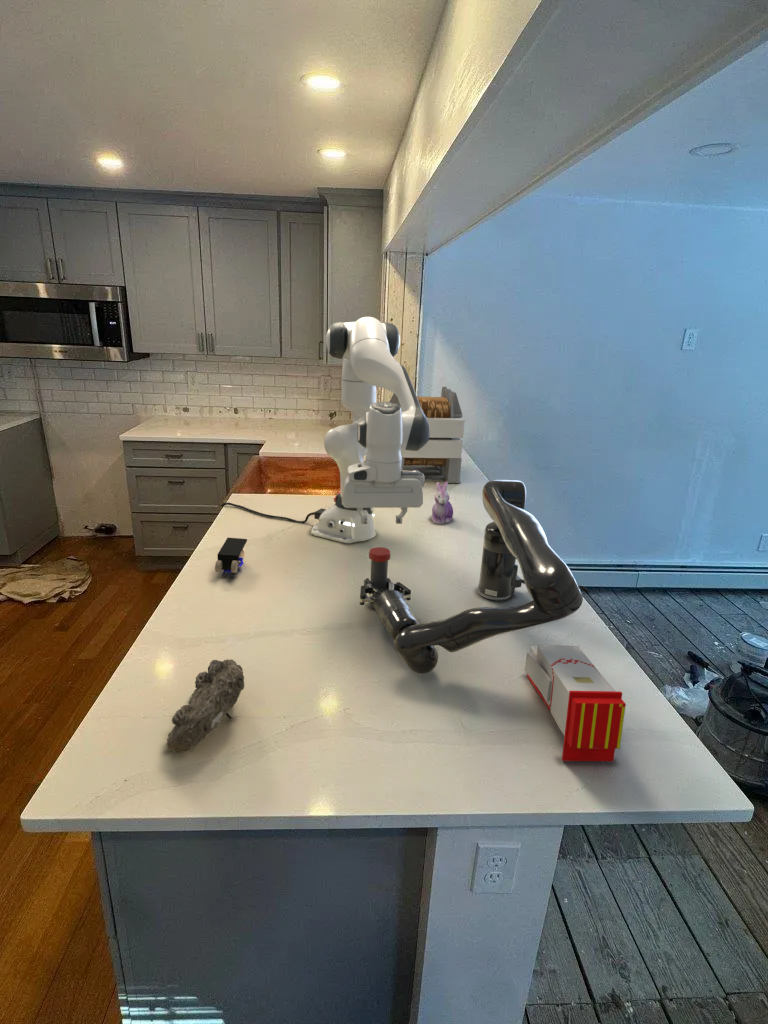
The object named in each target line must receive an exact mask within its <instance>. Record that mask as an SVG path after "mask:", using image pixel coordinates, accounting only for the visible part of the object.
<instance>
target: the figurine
mask: <svg viewBox="0 0 768 1024" xmlns="http://www.w3.org/2000/svg"><path fill="white" fill-rule="evenodd" d="M448 486H449V483H448V482H447V481H446V480H445V481H444V483H443V484H442V485H441V484H440V482H439V481H437V482H435V487H436V492H435V493H434V494H435V495H434V501H435V503H434V504H433V506H432V509H431V513H432V514H431V517H430V519H431V520H432V522H433V523H434V524H439V525H443V524H448V523H450V522H452V520H453V516H454V507H453V505H452V504H451V502H450V501H449V500H450V494H449V492H448Z"/></svg>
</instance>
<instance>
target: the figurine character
mask: <svg viewBox="0 0 768 1024" xmlns="http://www.w3.org/2000/svg"><path fill="white" fill-rule="evenodd" d="M247 542H248V538H240V537H226V539H225V541H224V543H223V544H222V546H221V547H220V549H219V551H218V552H217V560H216V562H215V564H214V572H215V573H221V577H222V578H224V577H225V576H226V574H227V573H230V574H231V573H232V574H231V578H234V577H235V575H236V573H237V572H239V571H240V567H242V566H243V565H244V564H245V562H244V558H245V551H244V547H245V546H246V544H247Z"/></svg>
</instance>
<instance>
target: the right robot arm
mask: <svg viewBox="0 0 768 1024" xmlns="http://www.w3.org/2000/svg"><path fill="white" fill-rule="evenodd" d="M481 497H482V499H481V500H482V504H483V507H484V509H485V512H486V513H487V515H488V516H489V518H490V519H491V520H492V521H491V522H489V523H488V524H486V526H485V528H484V535H483V544H482V553H481V561H480V572H479V578H478V579H479V580H478V587H477V592H478V595H480V596H481V597H483V598H484V599H487V600H491V601H497V602H499V601H500V602H501V601H506V600H509V599H511V598H512V597H515V591H516V589H517V588H519V589H520V588H522V584H523V585H525V587H526V590H527V592H528V594H529V596H530V598H531V599H532V600H531V601H529V602H526V603H524V604H521V605H516V606H509V607H507V606H506V607H494V606H493V607H492V606H481V607H480V606H478V607H474V608H473V607H472V608H469V609H465V610H463V611H460V612H459V613H456V614H454V615H451V616H449V617H447V618H445V619H441V620H433V621H429V622H422V623H419V621H418V619H417V618H416V616H415V614H414V613H413V610H412V608H411V606H410V605H409V603H408V602H407V601H410V600H412V590H411V589H410V588H408V587H407V586H406V585H404V584H403V583H401V582H400V581H397V582H395V583H394V581H392V580H391V578H390V577H387V589H379V588H378V587H377V586H373V585H372V584H371V582H370V578H369V577H366V578H365V579H364V580H363V585H361V586H360V592H359V605H360V606H365V605H366V604H367V603H371V604H372V605H373V606H374V607H375V609H374V610H375V612H376V613H377V616H378V617H379V619H380V621H381V623H382V624H383V626H384V627H385V629H386V630H387V632H388V633H389V636H390V637H391V639H392V640H393V641H394V648H395V650H396V652H397V653H398V655H399V656H400V657H401V658H402V660H403V661H404V662H405V663H406V665H407V666H408V668H409V669H410V670H412V671H413V672H414V673H416V674H419V675H421V674H423V675H424V674H429V673H431V672H432V671H433V670H434V669H435V668H436V667H437V665H438V662H439V653H438V649H437V647H436V646H439V647H441V648H443V649H444V650H446V651H447V652H449V653H456V652H459V651H461V650H464V649H466V648H469V647H471V646H473V645H475V644H478V643H481V642H483V641H486V640H488V639H490V638H493V637H496V636H500V635H503V634H507V633H511V632H516V631H519V630H525V629H529V628H532V627H536V626H540V625H544V624H549V623H553V622H555V621H559V620H562V619H565V618H567V617H569V616H571V615H573V614H575V613H576V612H577V611H578V610H579V609H581V606H582V605H583V601H584V596H583V593H582V591H583V592H585V593H590V590H589V589H588V588H587V587H586V586H583V585H579V584H578V582H577V580H576V579H575V577H574V574H573V572H572V570H571V569H570V567H569V565H568V564H567V563H565V561H564V560H563V559H562V558H561V557H560V556H559V555H558V554H557V552H556V551H555V550H554V549H553V548H552V547H551V546H550V544H549V539H548V536H547V534H546V532H545V529H544V528H543V526H542V525H541V523H540V521H539V520H538V519H537V517H536V516H534V515H533V514H532V513H531V512H528V511H527V510H525V508H526V502H527V487H526V485H525V483H524V482H523V481H522V480H515V479H514V480H513V479H512V480H511V479H493V480H489V481H487V482H486V483H485V484H484V486H483V488H482V491H481ZM517 562H518V564H519V565H518V564H517ZM519 567H520V570H521V574H522V578H523V579H522V578H521V577H520V576H519V575H518V570H519ZM370 597H371V598H370Z"/></svg>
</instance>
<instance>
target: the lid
mask: <svg viewBox="0 0 768 1024" xmlns="http://www.w3.org/2000/svg"><path fill="white" fill-rule="evenodd" d="M368 558H369V560H370V561H371V560H372V561H375V562H385V561H388V562H389V561H390V559H391V550H390V549H389V548H386V547H383V546H378V547H377V546H375V547H372V548H370V549H369V552H368Z"/></svg>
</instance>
